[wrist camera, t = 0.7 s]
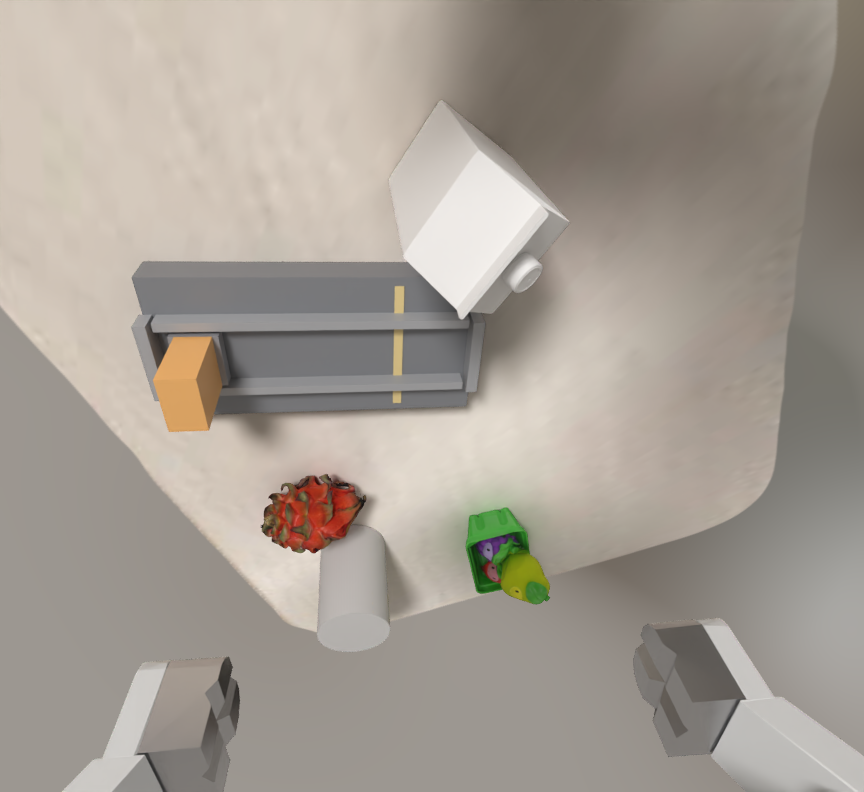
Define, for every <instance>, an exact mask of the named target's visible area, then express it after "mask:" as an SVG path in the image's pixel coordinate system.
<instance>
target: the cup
mask: <svg viewBox="0 0 864 792" xmlns="http://www.w3.org/2000/svg"><path fill="white" fill-rule="evenodd" d="M389 633H390V619H389V604H388V589H387V574H386V558H385V543H384V538H383V536H382V535H381V534H380V533H379V532H378V531H377V530H375V529H373V528H371V527H368V526H363V525H351V526H350V528H349V531H348V533H347V535H346V537H345V538H342V539H340V540H336V541H332V542H331V543H330V544H329V545H328V546H327V547H325V548H324V549H321V560H320V582H319V604H318V626H317V638H318V640H319V642H320V643H321V644H322V645H324V646H326V647H327V648H330V649H332V650H337V651H343V652H354V651H362V650H366V649H370V648H372V647H375V646H377V645H379V644H380V643H382V642H383V641H384V640H386V638H387V637H388V636H389Z"/></svg>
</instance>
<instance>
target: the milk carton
mask: <svg viewBox="0 0 864 792" xmlns="http://www.w3.org/2000/svg"><path fill="white" fill-rule="evenodd" d="M388 181H389V187H390V192H391V197H392V202H393V207H394V212H395V217H396V222H397V227H398V233H399V238H400V243H401V248H402V253H403V258H404V259H405V260H406V261H407V262H408V263H409V264H410V265H411V266H412V267H413V268H414V269H415V270H416V271H417V272H419V273H420V274H421V275H422V276H423V277H424V278H425V279H426V280H427V281H428V282H429V283H430V284H431V285H432V286H433V287H434V288H435V289H436V290H437V291H438V292H439V293H440V294H441V295H442V296H443V297H444V298H445V299H446V300H447V301H448V302H449V303H450V304H451V305H452V306H453V307H454V308H455V309H456V310H457V313H458V316H459V318H460V319H461V320H462V319H464V318H465V316H466V315H467V314H468V313H469V312H476V313H487V314H492V313H493V312H494V311H495V310H496V309H497V308H498V307H499V306H500V305H501V304H502V302H503V301H504V300H505V299H506V298H507V297H508V296H509V294H510V293H511V292H512V291H514V292H515V293H521V292H524V291H525V290H527V289H528V288H529V287H531V286H532V285H533V284H534V283H535V281H536V280H537V279H538V278H539V276H540V275H541V273H542V270H543V266H542V264H541V263H539V262H538V260H539V259H540V258H541V257H542V256H543V254H544V253H545V252H546V251H547V250H548V249H549V247H550V246H551V245H552V244H553V243H554V242H555V240H556V239H557V238H558V237H559V236H560V234H561V233H562V232H563V231H564V230H565V228H566V227H567V226H568V225H569V223H570V222H569V221H568V220H567V219H566V217H565V216H564V215H563V214H562V213H561V212H560V211H559V210H558V208H557V207H556V206H555V205H554V204H553V203H552V202H551V201H550V199H549V198H548V197H547V196H546V195H545V194H544V193H543V192H542V191H541V189H540V188H539V187H538V186H537V185H536V184H535V183H534V182H533V180H532V179H531V178H530V177H529V176H528V175H527V174H526V173H525V172H524V170H523V169H522V168H521V167H520V166H519V165H518V164H517V163H516V161H515V160H514V159H513V158H512V157H511V156H510V155H509V154H508V153H506V152H505V151H504V150H503V149H501V148H500V147H499V146H498V145H497V144H495V143H494V142H493V141H492V140H490V139H489V138H488V137H487V136H486V135H484V134H483V133H482V132H481V131H479V130H478V129H477V128H476V127H474V126H473V125H472V124H471V123H470V122H468V121H467V120H466V119H465V118H463V117H462V116H461V115H460V114H459V113H457V112H456V111H455V110H454V109H452V108H451V107H450V106H449V105H448V104H446V103H445V102H444V101H443V100H440V101H439V102H438V104H437V105H436V107H435V108H434V110H433V111H432V113H431V114H430V116H429V117H428V119H427V120H426V122H425V123H424V125H423V127H422V128H421V130H420V131H419V133H418V134H417V136H416V137H415V139H414V140H413V142H412V144H411V145H410V147H409V148H408V150H407V151H406V153H405V154H404V156H403V157H402V159H401V161H400V162H399V164H398V165H397V167H396V168H395V170H394V171H393V173H392V175H391V176H390V178H389V180H388Z"/></svg>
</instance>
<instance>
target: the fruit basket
mask: <svg viewBox="0 0 864 792" xmlns="http://www.w3.org/2000/svg"><path fill="white" fill-rule="evenodd" d="M466 551H467V555H468V558H469V562H470V566H471V571H472V575H473V579H474V583H475V587H476V591H477V592H478V593H480V594H485V593H489V592H494V591H498V590H502V589H503V590H504V592H505V593H506V594H508V595H509V596H511V597H514V598H517V599H519V600H522V601H526V602H529V603H532V604H540V603H542V602H543V601H544V600H545V601H548V600H549V598H550V597H549V596H548V593H549V589H550V585H549V582H548V580H547V579H546V577H545V575H544V573H543V570H542V568H541V566H540V564H539V562H538V561H537V560H536V559H535V558H534V557H533V556H531V555H530V551H529V544H528V536H527V532H526V531H525V530H524V529H523V528H522V527H521V526H520V525H519V523H518V522H517V520H516V519H515V517H514V516H513V515H512V513H511V512H510V510H509V509H508V508H503V509H500V511H499V510H493V511H489V512H484V513H481V514H479V515H471V516H470V517H469V527H468V539H467V541H466Z"/></svg>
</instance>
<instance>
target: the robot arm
mask: <svg viewBox="0 0 864 792" xmlns="http://www.w3.org/2000/svg"><path fill="white" fill-rule="evenodd" d="M641 637H642V639H643V641H644V643H643V644H641V645H640V646H639V647H638V648H637V649H636V651H635V655H634V658H633V663H634V674H635V678H636V682H637V685H638V688H639V690H640V693H641V695H642V697H643V699H644V700H646V701H647V702H648V703H649V704H650V705H652V706H653V707H654V708H655V712H654V717H653V723H654V725H655V728H656V730H657V732H658V734H659V737H660V739H661V741H662V743H663V746H664V748H665V750H666V753H667V755H668V757H672V756H686V755H687V756H688V755H702V754H712V755H711V757H712V758H713V759H714V760H715V761H716V762H717V763H718V764H719V765H720V766H721V767H722V768H723V769H724V770H725V771H726V772H727V773H728V774H729V775H730V776H731V777H732V778H733V779H734V780H735V781H736V782H737V783H738V784H739V785H740V786H741V787H742V788H743V789H744V790H745V791H746V792H864V756H863V755H861V754H860V753H859V752H857V751H856V750H854V749H853V748H852V747H850V746H849V745H848V744H846V743H845V742H843V741H842V740H841V739H839V738H838V737H837V736H835V735H834V734H832V733H831V732H830V731H828V730H827V729H826V728H824V727H823V726H821V725H820V724H819V723H817V722H816V721H815V720H813V719H812V718H810V717H809V716H808V715H806V714H805V713H804V712H802V711H801V710H800V709H798V708H797V707H795V706H794V705H793V704H791V703H790V702H789V701H787V700H786V699H784V698H783V697H774V696H773V694H772V693H771V691H770V689H769V688H768V686H767V685H766V683H765V682H764V681H763V679H762V677H761V675H760V674H759V672H758V671H757V669H756V668H755V666H754V665H753V663H752V662H751V660H750V659H749V657H748V656H747V654H746V652H745V651H744V649H743V648H742V646H741V645H740V643H739V642H738V640H737V639H736V637H735V636H734V634H733V632H732V631H731V629H730V628H729V626H728V625H727V623H726V622H724V621H723V620H722V619H719V618H710V619H700V620H681V621H672V622H660V623H650V624H647V625H645V626H644V627H643V630H642V632H641ZM232 668H233V666H232V664H231V661H230V658H229V657H215V658H201V659H186V660H167V661H155V662H144V663H143V664H142V665H141V667H140V668H139V670H138V671H137V672H136V674H135V677H134V679H133V682H132V684H131V687H130V690H129V692H128V695H127V697H126V700H125V702H124V705H123V708H122V710H121V712H120V715H119V718H118V720H117V723H116V725H115V728H114V730H113V733H112V735H111V738H110V740H109V743H108V745H107V748H106V751H105V753H104V755H103V758H98V759H93V760H92V761H91V762H90V763H89V764H88V765H87V766H86V767H85V768H84V769H83V770H82V772H80V773H79V774H78V776H77V777H76V778H75V779H74V780H73V781H72V782H71V783H70V784H69V785H68V786H67V787H66V788H65V789H64V790H63V791H62V792H223V791H224V787H225V782H226V777H227V772H228V768H229V763H230V758H229V755H228V752H227V749H226V745H227V744H228V743H229V741H230V740H231V739H232V738H233V737H234V735H235V734H236V729H237V723H238V718H239V705H240V696H239V687H238V684H237V681H236V680H234V679H232V678H231V672H232Z"/></svg>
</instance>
